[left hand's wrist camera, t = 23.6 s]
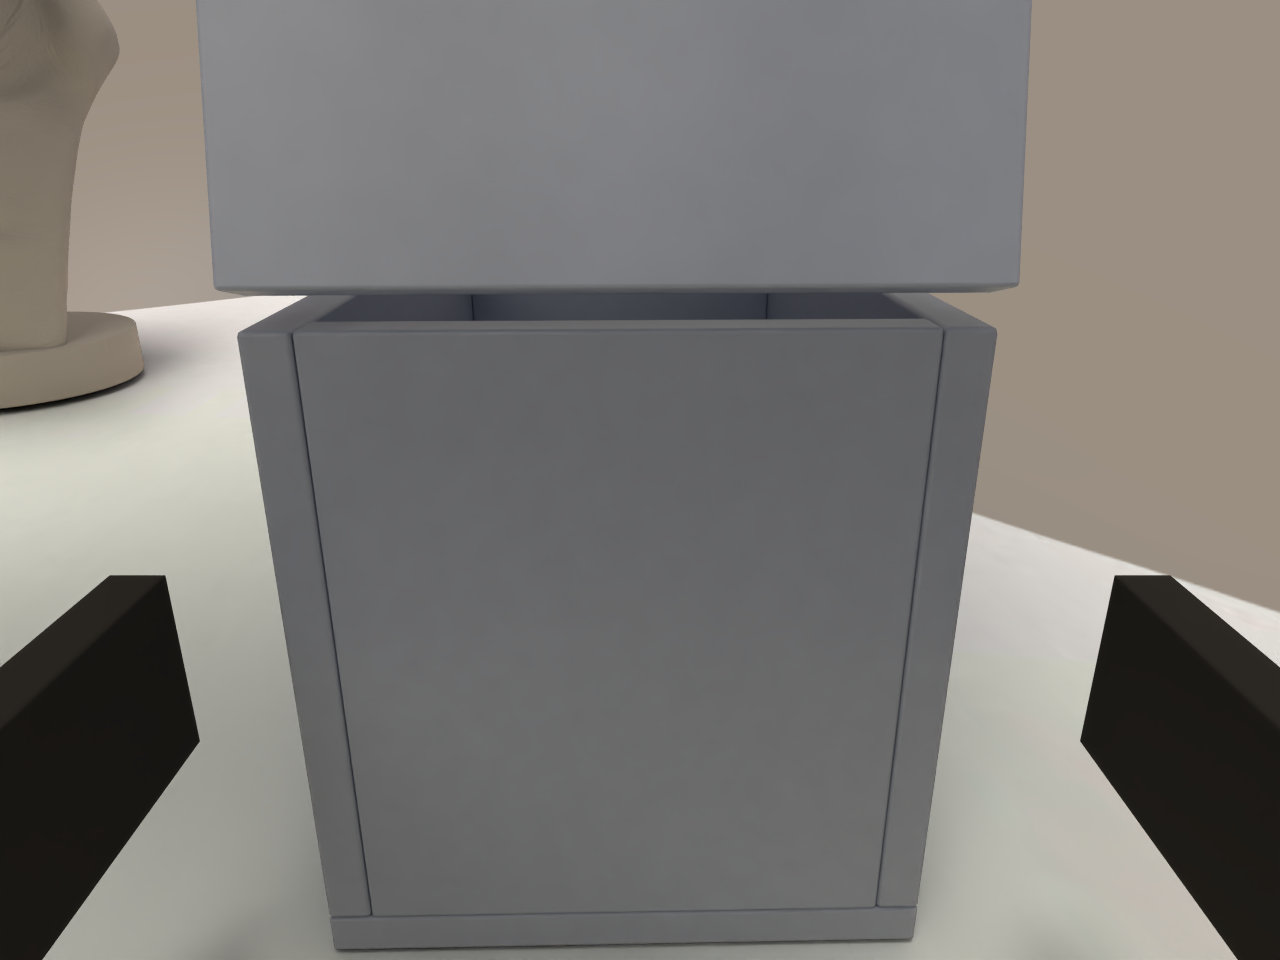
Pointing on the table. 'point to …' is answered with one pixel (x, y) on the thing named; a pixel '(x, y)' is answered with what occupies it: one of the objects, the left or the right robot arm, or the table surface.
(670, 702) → the chest
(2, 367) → the bust sculpture
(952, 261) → the lid
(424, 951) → the table surface
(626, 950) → the table surface
